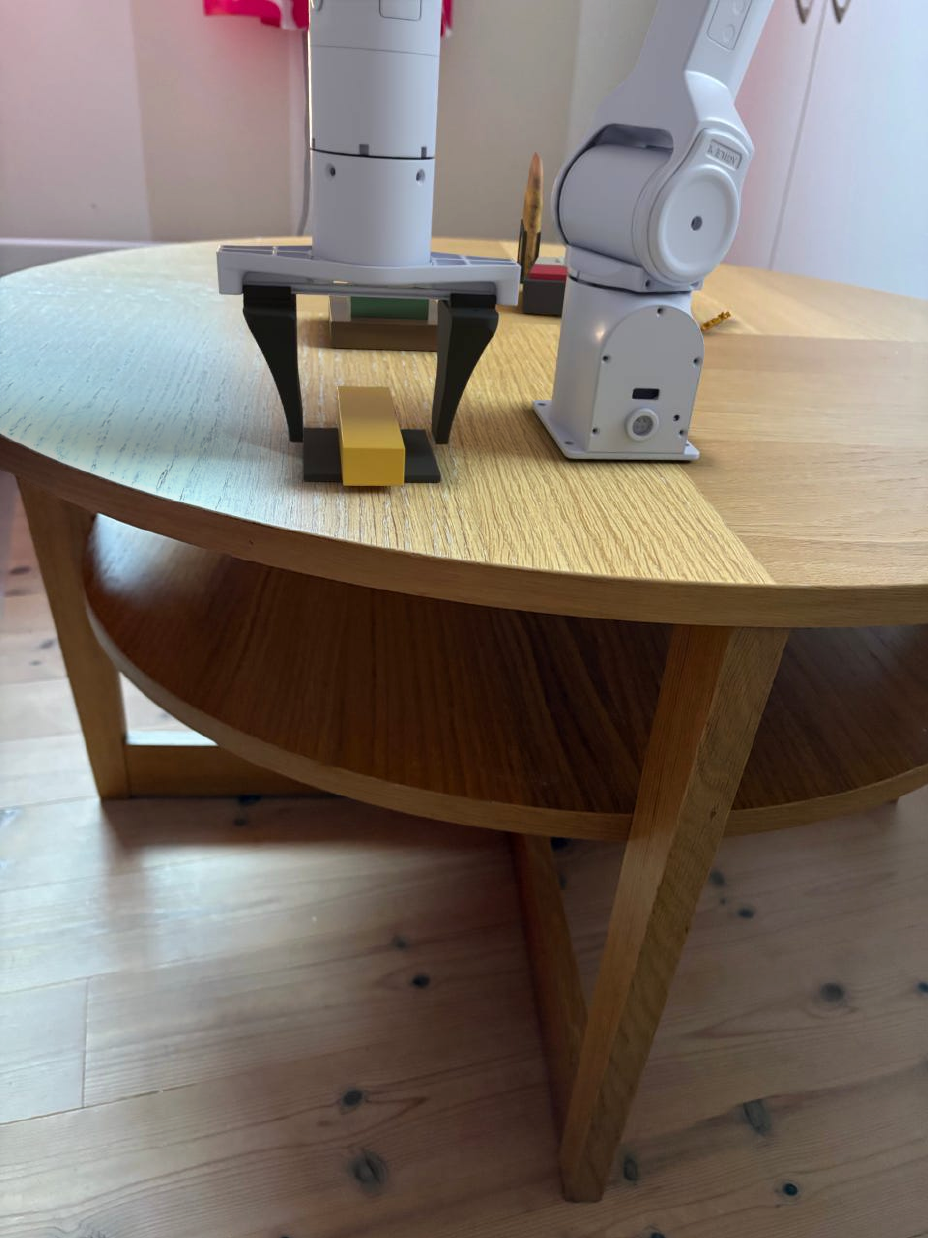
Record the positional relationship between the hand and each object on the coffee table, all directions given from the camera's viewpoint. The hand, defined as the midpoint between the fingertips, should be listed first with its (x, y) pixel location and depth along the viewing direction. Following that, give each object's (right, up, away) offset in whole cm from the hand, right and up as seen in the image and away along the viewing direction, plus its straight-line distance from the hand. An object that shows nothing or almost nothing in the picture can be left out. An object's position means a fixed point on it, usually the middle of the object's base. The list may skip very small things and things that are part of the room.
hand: (369, 437), depth 48 cm
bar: (0, -1, 0) cm, 1 cm away
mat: (0, -1, +1) cm, 1 cm away
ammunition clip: (+12, +29, +52) cm, 61 cm away
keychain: (+28, +17, +35) cm, 48 cm away
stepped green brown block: (-1, +13, +24) cm, 27 cm away
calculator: (+19, +20, +38) cm, 47 cm away
